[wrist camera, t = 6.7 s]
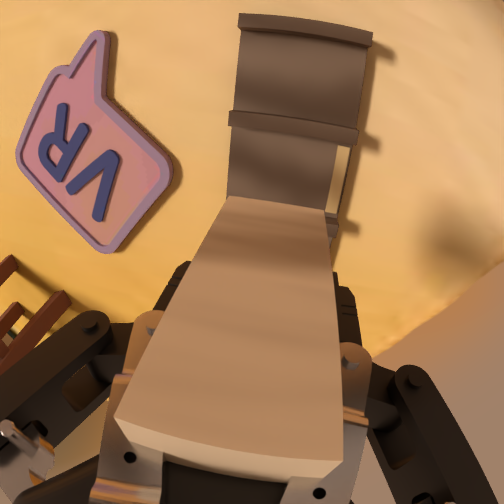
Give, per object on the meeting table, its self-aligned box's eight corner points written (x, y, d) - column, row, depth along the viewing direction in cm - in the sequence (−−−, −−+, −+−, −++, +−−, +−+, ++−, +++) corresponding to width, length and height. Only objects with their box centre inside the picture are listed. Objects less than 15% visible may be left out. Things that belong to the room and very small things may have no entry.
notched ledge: (244, 19, 19) (239, 13, 17) (366, 37, 19) (372, 32, 17) (223, 279, 33) (218, 293, 31) (315, 294, 32) (315, 309, 30)
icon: (216, 132, 24) (107, 260, 33) (220, 130, 25) (113, 254, 34) (83, 17, 19) (11, 159, 28) (92, 18, 20) (19, 156, 29)
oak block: (228, 195, 11) (113, 416, 4) (327, 210, 11) (352, 460, 4) (222, 305, 14) (164, 488, 7) (300, 318, 14) (284, 510, 7)
